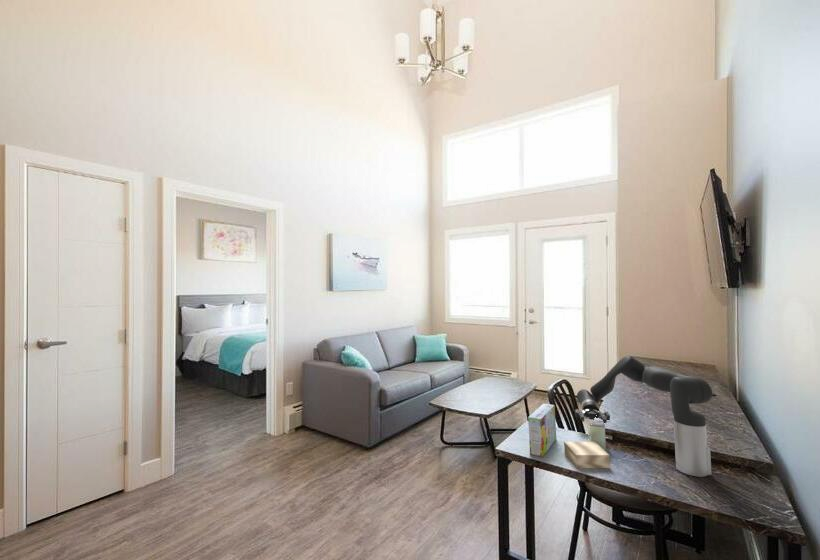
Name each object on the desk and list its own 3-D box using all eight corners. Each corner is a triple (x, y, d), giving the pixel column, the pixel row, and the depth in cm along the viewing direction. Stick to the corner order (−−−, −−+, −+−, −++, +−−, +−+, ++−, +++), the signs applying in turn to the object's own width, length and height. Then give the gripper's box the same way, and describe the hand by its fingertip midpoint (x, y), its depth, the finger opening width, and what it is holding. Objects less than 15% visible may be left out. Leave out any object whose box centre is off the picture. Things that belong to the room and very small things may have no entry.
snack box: (543, 436, 164) (542, 402, 165) (557, 439, 161) (555, 404, 162) (528, 454, 147) (527, 416, 148) (542, 457, 144) (541, 418, 144)
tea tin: (589, 443, 156) (588, 419, 157) (603, 445, 154) (603, 421, 155) (590, 448, 151) (589, 424, 152) (605, 450, 149) (604, 425, 150)
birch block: (595, 454, 147) (594, 441, 147) (610, 468, 135) (609, 455, 135) (564, 454, 147) (564, 441, 147) (576, 468, 135) (576, 455, 135)
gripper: (574, 399, 182) (576, 410, 166) (606, 402, 176) (611, 413, 161) (574, 415, 181) (576, 426, 166) (606, 418, 176) (612, 430, 161)
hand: (593, 420), depth 164 cm, fingers open, 8 cm apart
